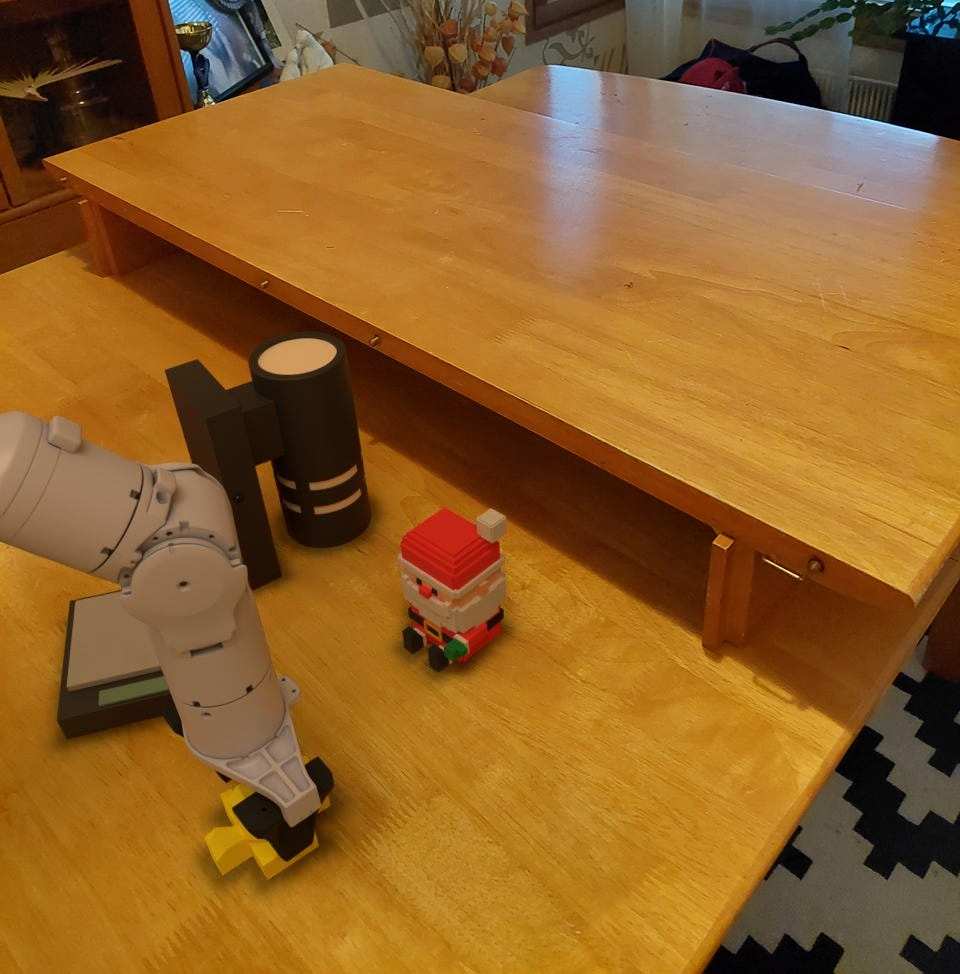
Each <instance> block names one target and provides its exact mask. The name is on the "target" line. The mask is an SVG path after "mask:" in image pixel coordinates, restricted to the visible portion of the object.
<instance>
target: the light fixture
mask: <svg viewBox="0 0 960 974" xmlns="http://www.w3.org/2000/svg"><path fill="white" fill-rule="evenodd" d="M347 354H348V353H347V348H346V346H345V344H344V342H343V341H342V340H341V339H339V338H338V337H336V336H335V335H331V334H328V333H325V332H320V331H297V332H290V333H285V334H281V335H278V336H275V337H273V338H270V339H268V340H266V341H264V342H262V343H261V344H259V345H258V346H256V348H254V349H253V350H252V352H251V353H250V355H249V357H248V361H247V363H248V364H247V365H248V369H249V373H250V377H251V378H250V379H251V380H250V381H248V382H245V383H241V384H239V385H236V386H233V387H230V388H227V389H226V388H225V387H224V386H223V385H222V383H221V382H220V381H219V380H218V379H216V377H215V376H214V375H213V374H212V373H211V372H210V371H209V369H207V367H206V366H205V365H204V364H203V363H202V362H201V361H200V359H198V358H197V359H193V360H190V361H186V362H184V363H181V364H178V365H175V366H172V367H168V368H166V369H164V373H165V376H166V380H167V383H168V387H169V390H170V394H171V397H172V401H173V403H174V408H175V411H176V414H177V418H178V421H179V425H180V428H181V431H182V434H183V438H184V442H185V445H186V448H187V452H188V455H189V459H190V462H191V463H192V464H196V465H198V466H200V467H201V468H202V470H203V471H204V472H206V473H208V474H210V475H211V476H213V477H214V478H215V479H216V480H217V481H218V482H219V483H220V484H221V485H222V486H223V488H224V490H225V492H226V494H227V497H228V499H229V501H230V504H231V508H232V513H233V517H234V522H235V527H236V532H237V537H238V542H239V547H240V552H241V557H242V563H243V565H246V566H247V571H248V578H247V579H248V583H249V587H250V588H251V590H252V591H253V590H256V589H258V588H260V587H262V586H264V585H267V584H269V583H272V582H273V581H276V580H278V579H280V578H282V576H283V575H282V569H281V567H280V562H279V558H278V554H277V550H276V546H275V542H274V537H273V534H272V529H271V525H270V522H269V517H268V513H267V508H266V505H265V501H264V496H263V493H262V488H261V483H260V480H259V476H258V472H257V467H258V466H260V465H263V464H265V463H268V462H270V466H271V468H272V474H273V478H274V483H275V486H276V491H277V494H278V500H279V504H280V505H279V506H280V510H281V513H282V518H283V522H284V526H285V530H286V532H287V534H288V536H289V537H290V538H291V539H292V540H293V541H294V542H295V543H298V544H300V545H302V546H306V547H310V548H332V547H337V546H340V545H341V546H342V545H343V544H346V543H349V542H351V541H353V540H354V539H356V538H357V537H359V536H360V535H362V534H363V532H365V530H366V529H367V528H368V527H369V525H370V523H371V519H372V510H371V503H370V498H369V497H370V496H369V490H368V484H367V483H368V482H367V478H366V471H365V464H364V458H363V454H362V445H361V438H360V433H359V427H358V426H359V425H358V419H357V411H356V405H355V400H354V399H355V398H354V394H353V393H354V392H353V388H352V380H351V374H350V367H349V360H348V355H347Z"/></svg>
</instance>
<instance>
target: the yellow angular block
mask: <svg viewBox="0 0 960 974" xmlns="http://www.w3.org/2000/svg"><path fill="white" fill-rule="evenodd" d="M301 756H302V760H303V763H304V765H305V764H307V763H308V762H310V760H309V758H308V756H307V755H301ZM255 792H256V791H254V790H252V789H250V788H248V787H246V786H244V785H242V784H241V783H239V784H236V785H235V787H230V788H229V789H227V790H225V791H224V792H222V793H220V794H219V797H220V800H221V802H222V805H223V808H224V810H225V813H226V816H227V818H228V820H229V821H230V823H231V825H230V826H216V827H214V828H213V829H212V830H211V831H209V833H207V834H206V835H205V836H204V837H203V840H204V842H205V844H206V846H207V849H208V852H209V854H210V857H211V859H212V860H213V862H214V864H215V866H216V867H217V870H218V871H219V872H220V874H221V876H222V877H223V876H225V875H226V874H227V873H228V874H229V873H230V872H231V871H233V870H234V869H235V868H237V867H239V866H240V865H242V864H244V863H245V862H246V861H248V860H249V859H251V858H253V860H254V861H255V862H256V864H257V866H258V867H259V869H260V870H261V872H262V873H263V875H264V876H265V878H266V881H269V880H271V879H272V878H274V877H275V876H277V875H278V874H279V873H281V872H282V871H284V870H285V869H287V868H289V867H290V866H291V865H294V863H296V862H298V861H299V860H300V859H302V858H304V857H306V856H307V855H308V854H309V853H311V852H312V851H315V849H317V848H318V847H320V844H319V842H318V841H319V840H318V837H317V834H316V832H315V833H314V839H313V843H312V845H310V846H309V847H307V848H306V849H305V850H303V851H302V852H301V853H299V854H298V855H296V856H295V857H294V858H292V859H291V860H290V861H288V862H285V861H284V860H283V859H282V858H281V857H280V856H279V855H278V854H277V853H276V851H275V850H274V849H273V847H272V846H271V844H270V843H269V841H267V840H265V839H257V838H255V837H254V836H253V835H251V834H250V833H249V832H248V831H247V830H246V829H245V827H244V826H243V825H242V823H241V822H240V821H239V819H238V818H237V816H236V815H235V814H234V812H233V810H232V807H234V806H235V805H237V804H238V803H240V802H241V801H243V800H244V799H246V798H247V797H249V796H250V795H252V794H253V793H255ZM329 807H331V802H330V798H329V794H328V795H327V797H326V798H325V800H324V801H323V803H322V805H321V807H320V809H319V812H318V815H319V814H320V813H321V812H323V811H325V810H326V809H328V808H329Z"/></svg>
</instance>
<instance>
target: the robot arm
mask: <svg viewBox="0 0 960 974" xmlns="http://www.w3.org/2000/svg"><path fill="white" fill-rule="evenodd" d="M0 543H2V544H5V545H8V546H11V547H12V548H16V549H19V550H21V551H23V552H27V553H30V554H32V555H35V556H38V557H40V558H42V559H43V558H44V559H46V560H49V561H51V562H54V563H57V564H59V565H62V566H65V567H68V568H70V569H73V570H76V571H79V572H82V573H84V574H87V575H89V576H92V577H94V578H95V577H96V578H98V579H100V580H103V581H107V582H111V583H113V584H117V585H119V586H120V590H122V593H123V595H121V596H120V597H119V601H120V603H121V604H122V606H123V607H124V609H125V610H126V611H127V612H128V613H129V614H130V615H132V616H133V617H134V618H136V619H137V620H139V621H141V622H143V623H145V624H146V629H147V633H148V636H149V638H150V641H151V643H152V646H153V649H154V651H155V654H156V656H157V659H158V661H159V664H160V667H161V669H162V672H163V674H164V677H165V679H166V682H167V685H168V687H169V690H170V693H171V695H172V698H173V700H172V701H170V702H169V703H168V704H167V705H166V706H165V708H164V710H163V716H162V717H163V719H164V721H165V722H166V724H167V725H168V727H170V729H171V730H172V731H173V733H174V734H176V735H178V736H180V737H181V738H183V739H184V741H185V744H186V746H187V749H188V751H189V753H190V754H191V756H192V757H193V758H194V759H195V760H196V761H197V762H199V763H200V764H202V765H204V766H206V767H207V768H209V769H211V770H214V772H215V773H216V774H217V776H218V777H219V778H220V779H221V780H222V781H223V782H224V783H225V784H228V783H230V782H231V781H232V780H233V781H235V782H237V783H239V784H242V785H244V786H246V787H248V788H250V789H252V790H254V791H256V792H255V793H253V794H252V795H250V796H249V797H247V798H246V799H244V800H243V801H241V802H240V803H238V804H237V805H235V806H234V807H232V810H233V812H234V814H235V815H236V816H237V818H238V819H239V821H240V822H241V823H242V825H243V826H244V827H245V829H246V830H247V831H248V832H249V833H250V834H251V835H253V836H254V837H255V838H257V839H265V840H267V841H269V843H270V844H271V846H272V847H273V849H274V850H275V851H276V853H277V854H278V855H279V856H280V857H281V858H282V859H283V860H284V861H285V862H288V861H290V860H291V859H292V858H294V857H295V856H296V855H298V854H299V853H301V852H302V851H303V850H305V849H306V848H307V847H309V846H310V845H312V843H313V839H314V833H316V825H317V819H318V816H319V814H318V812H319V809H320V807H321V805H322V803H323V801H324V800H325V798H326V797H327V795H328V796H329V794H330V793H331V791H332V790H333V789H334V788H335V779H334V775H333V772H332V770H331V769H330V768H329V766H328V765H327V764H326V763H325V762H324V761H323V760H322V759H321V758H320V756H315V757H314V758H313V759H311V760H309V762H308V763H307V764H305V765H304V763H303V760H302V756H303V755H302V753H301V749H300V745H299V740H298V737H297V733H296V730H295V726H294V722H293V718H292V714H291V710H292V707H294V706H296V704H297V705H298V704H299V702H300V701H301V700H302V697H303V695H302V691H301V688H300V687H299V685H298V684H297V683H296V682H295V681H294V680H293V679H292V678H291V677H290V676H288V675H280V676H278V677H277V674H276V673H277V672H276V669H275V666H274V663H273V659H272V655H271V653H270V648H269V643H268V640H267V636H266V633H265V629H264V626H263V622H262V619H261V615H260V612H259V608H258V605H257V601H256V597H255V594H254V592H253V590H251V588H250V587H249V583H248V579H247V578H248V571H247V566H246V565H243V563H242V557H241V552H240V547H239V542H238V537H237V532H236V527H235V522H234V517H233V513H232V508H231V504H230V501H229V499H228V497H227V494H226V492H225V490H224V488H223V486H222V485H221V484H220V483H219V482H218V481H217V480H216V479H215V478H214V477H213V476H211V475H210V474H208V473H206V472H204V471H203V470H202V468H201V467H200V466H198V465H196V464H192V462H191V463H190V462H184V461H172V462H171V461H170V462H169V461H168V462H162V463H158V464H149V463H145V462H142V461H140V460H136V461H134V460H132V459H130V458H128V457H126V456H124V455H121V454H119V453H116V452H114V451H112V450H110V449H108V448H106V447H103V446H101V445H99V444H97V443H95V442H92V441H91V440H88V439H86V438H83V427H82V425H80V424H78V423H76V422H75V421H72V420H70V419H67V418H65V417H63V416H61V415H58V414H57V415H54V416H53V417H52V419H51V420H50V422H49V421H47V420H44V419H42V418H39V417H37V416H35V415H33V414H31V413H29V412H26V411H24V410H11V411H6V412H3V413H0Z"/></svg>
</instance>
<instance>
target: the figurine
mask: <svg viewBox="0 0 960 974" xmlns="http://www.w3.org/2000/svg"><path fill="white" fill-rule="evenodd" d="M475 520H476V521H475V522H476V524H475V523H473V522H471V521H469V520H468V519H466V518H465V517H463V516H461V515H459V514H457V513H456V512H454V511H452V510H451V509H449V508H447V507H446V506H444V507H443V508H441V509H440V510H438V511H437V512H435V513H434V514H432V515H431V516H429V517H427V518H426V519H424V520H423V521H422V522H420V523H418V524H417V525H416V526H414V527H413V528H411V529H410V530H408V531H407V532H405V534H404V535H402V536H401V541H400V553H398V554H397V562H398V565H400V566H401V567H402V569H403V570H401V571H400V578H401V585H402V593H403V599H404V600H406V601H407V602H409V603H410V606H409V607H408V608H407V613H408V618H409V619H411V620H412V626H410V625H408V626H407V627H406V628H404V629H403V630H402V631H401V632H402V640H403V646H404V649H406V650H407V651H408V652H410V653H411V654H414V653H416V652H417V651H418V650H420V649H421V648H422V647H425V648H426V647H427V646H428V643H431V644H432V645H431V646H429V647H428V648H427V654H428V663H429V667H431V668H432V669H434V671H436V672H440V671H442V669H444V668H445V667H446V666H448V665H449V666H451V665H453V663H455V662H458V663H461V662H462V663H466V662H467V661H468V660H470V659H471V658H472V657H473V656H474V655H475V654H477V653H478V652H479V651H480V650H481V649H482V648H484V647H485V646H486V645H487V644H488V643H490V642H491V641H492V640H493V639H495V638H496V637H497V636H499V635H500V634H501V633H502V621H503V620H504V619H505V610H504V608H502V607H501V605H502V604H504V602H506V601H507V579H506V572H505V571H504V570H502V569H501V568H502V567H504V566H505V565H506V558H505V557H506V556H505V554H503V553H501V546H500V541H498V540H500V539H501V538H502V537H504V536H505V535H507V534H508V526H507V525H508V522H507V516H506V515H505V514H503V513H501V512H499V511H497V510H495V509H493V508H491V507H490V508H488V509H487V510H486V511H484V512H483V513H482V514H480V515H479V516H476V518H475ZM412 627H413V628H412Z"/></svg>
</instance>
